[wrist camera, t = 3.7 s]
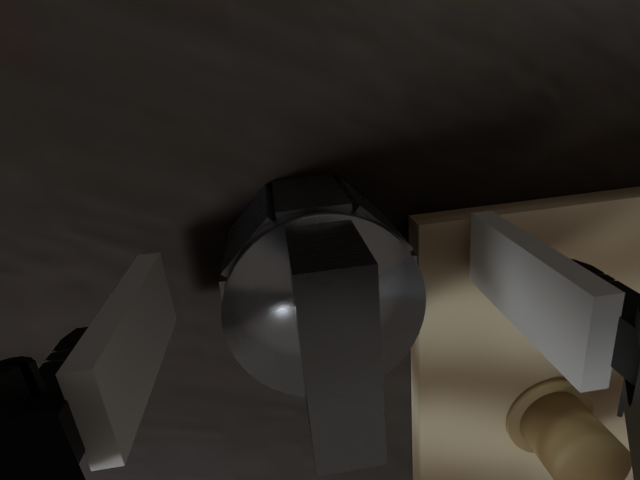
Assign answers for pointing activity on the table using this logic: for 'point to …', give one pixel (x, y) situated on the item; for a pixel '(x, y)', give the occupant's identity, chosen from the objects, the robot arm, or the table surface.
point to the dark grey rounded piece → (323, 309)
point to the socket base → (514, 353)
